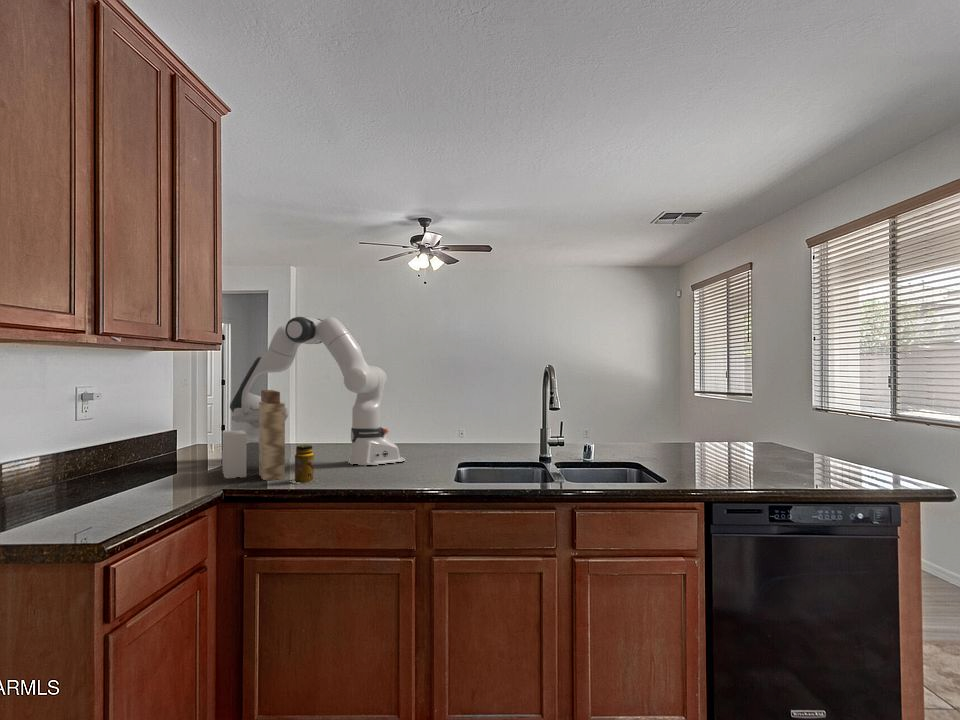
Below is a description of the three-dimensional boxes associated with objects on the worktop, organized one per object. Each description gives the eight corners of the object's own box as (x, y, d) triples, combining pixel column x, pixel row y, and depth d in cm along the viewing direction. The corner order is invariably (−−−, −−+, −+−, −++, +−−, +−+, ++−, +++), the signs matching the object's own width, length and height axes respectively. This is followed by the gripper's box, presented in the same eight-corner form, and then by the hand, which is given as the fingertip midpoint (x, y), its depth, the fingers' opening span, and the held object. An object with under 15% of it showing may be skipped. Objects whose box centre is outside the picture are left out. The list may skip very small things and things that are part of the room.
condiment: (318, 481, 203) (318, 445, 203) (294, 484, 197) (295, 448, 197) (307, 478, 208) (308, 443, 208) (284, 481, 202) (284, 446, 202)
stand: (279, 472, 218) (279, 401, 219) (284, 479, 207) (284, 403, 207) (259, 474, 215) (259, 402, 215) (263, 480, 204) (263, 404, 204)
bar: (272, 401, 225) (272, 389, 225) (279, 404, 207) (279, 391, 207) (261, 401, 223) (261, 390, 223) (267, 404, 205) (267, 392, 205)
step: (242, 470, 224) (242, 430, 224) (246, 476, 211) (246, 434, 211) (222, 471, 221) (222, 431, 221) (224, 478, 207) (224, 435, 208)
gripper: (230, 413, 239) (234, 399, 228) (284, 412, 248) (289, 399, 237) (231, 428, 236) (234, 414, 225) (285, 426, 245) (290, 414, 235)
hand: (263, 406), depth 231 cm, fingers open, 8 cm apart
